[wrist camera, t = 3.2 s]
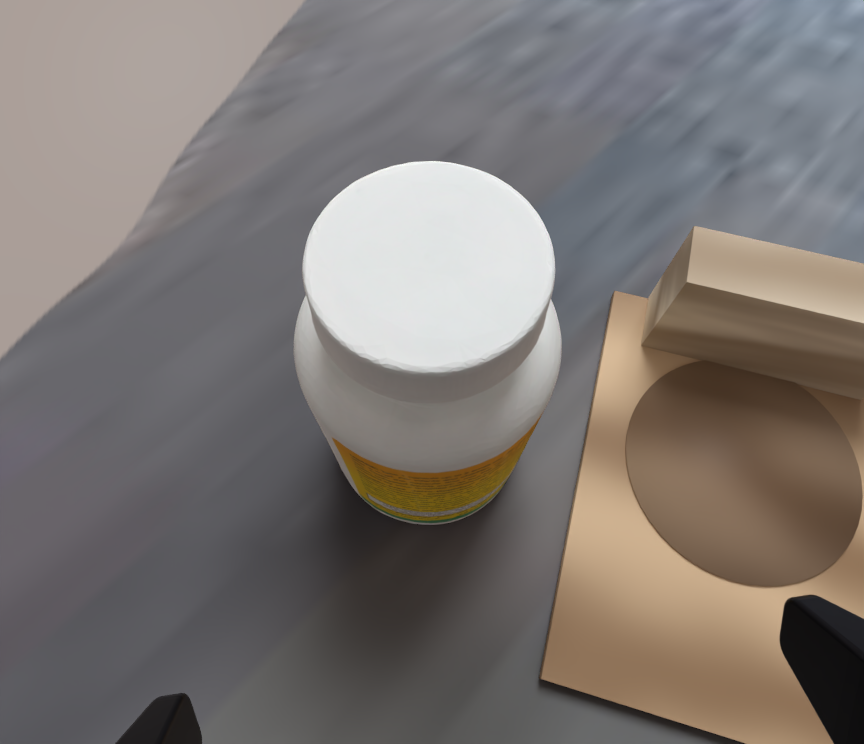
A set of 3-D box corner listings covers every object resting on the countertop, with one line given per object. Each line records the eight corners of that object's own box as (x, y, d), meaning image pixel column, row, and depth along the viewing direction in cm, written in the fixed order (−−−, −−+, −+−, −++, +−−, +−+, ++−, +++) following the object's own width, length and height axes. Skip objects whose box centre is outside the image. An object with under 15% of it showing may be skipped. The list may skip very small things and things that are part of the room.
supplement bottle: (306, 419, 25) (192, 220, 13) (447, 329, 26) (460, 81, 15) (406, 569, 22) (378, 492, 10) (554, 460, 24) (672, 288, 12)
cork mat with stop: (902, 792, 19) (1063, 845, 14) (539, 678, 21) (572, 690, 16) (890, 360, 26) (1000, 294, 21) (612, 293, 27) (653, 216, 22)
